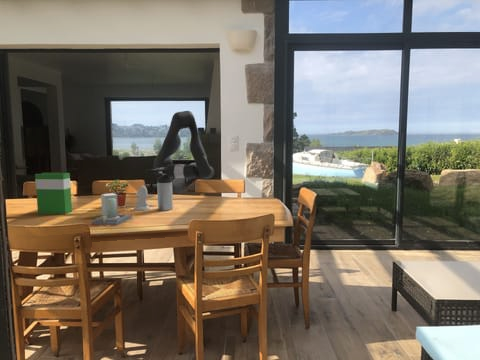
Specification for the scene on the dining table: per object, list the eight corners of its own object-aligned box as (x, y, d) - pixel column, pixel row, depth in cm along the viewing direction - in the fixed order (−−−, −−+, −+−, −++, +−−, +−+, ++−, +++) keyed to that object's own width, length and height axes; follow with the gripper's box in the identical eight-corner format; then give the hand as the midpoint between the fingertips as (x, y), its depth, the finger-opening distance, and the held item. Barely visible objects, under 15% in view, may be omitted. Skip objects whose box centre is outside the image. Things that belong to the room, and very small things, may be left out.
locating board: (108, 217, 231) (108, 209, 230) (131, 218, 228) (131, 210, 227) (91, 224, 213) (91, 216, 213) (115, 225, 211) (115, 217, 210)
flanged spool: (109, 216, 225) (108, 197, 224) (122, 217, 224) (121, 198, 222) (101, 220, 217) (100, 200, 216) (115, 220, 216) (114, 200, 214)
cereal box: (37, 213, 241) (35, 174, 238) (45, 211, 248) (42, 172, 245) (65, 214, 239) (63, 174, 236) (72, 211, 247) (69, 173, 243)
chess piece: (138, 207, 259) (138, 184, 257) (152, 207, 257) (151, 184, 255) (130, 210, 250) (129, 186, 248) (145, 211, 247) (144, 187, 245)
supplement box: (105, 217, 231) (104, 195, 229) (101, 215, 237) (100, 194, 235) (118, 215, 235) (117, 194, 233) (114, 213, 241) (113, 192, 239)
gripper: (181, 163, 222) (153, 162, 225) (172, 165, 208) (143, 165, 211) (181, 176, 223) (154, 175, 226) (172, 179, 209) (143, 179, 212)
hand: (149, 170), depth 219 cm, fingers open, 8 cm apart
